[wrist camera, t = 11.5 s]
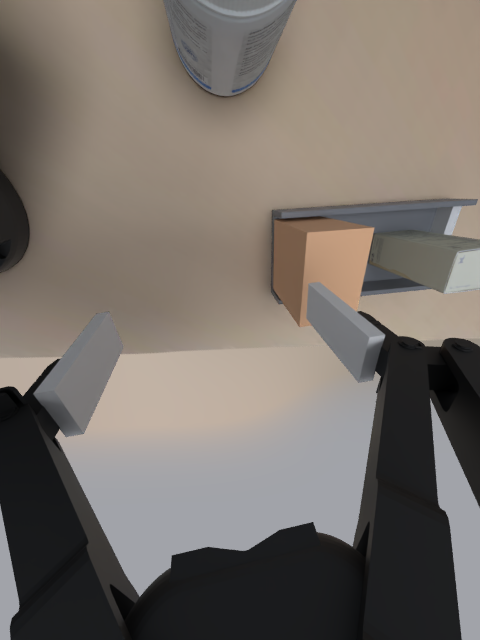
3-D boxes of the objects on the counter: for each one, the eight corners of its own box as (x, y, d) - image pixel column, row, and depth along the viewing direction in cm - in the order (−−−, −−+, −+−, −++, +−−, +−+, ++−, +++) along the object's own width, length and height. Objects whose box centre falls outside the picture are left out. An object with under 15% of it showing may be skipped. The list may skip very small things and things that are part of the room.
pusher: (273, 288, 34) (299, 326, 24) (274, 219, 29) (307, 232, 20) (313, 284, 34) (354, 320, 25) (320, 216, 30) (374, 227, 20)
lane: (271, 292, 35) (278, 304, 32) (272, 210, 30) (281, 212, 26) (419, 278, 37) (443, 287, 34) (446, 198, 32) (477, 199, 28)
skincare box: (367, 263, 34) (439, 296, 24) (373, 231, 32) (456, 251, 21) (407, 259, 35) (496, 289, 24) (416, 227, 32) (518, 244, 22)
